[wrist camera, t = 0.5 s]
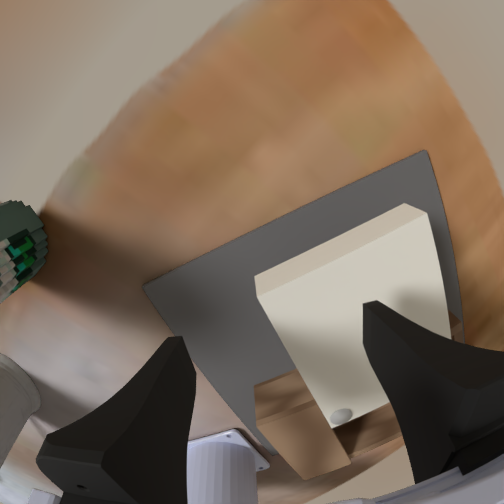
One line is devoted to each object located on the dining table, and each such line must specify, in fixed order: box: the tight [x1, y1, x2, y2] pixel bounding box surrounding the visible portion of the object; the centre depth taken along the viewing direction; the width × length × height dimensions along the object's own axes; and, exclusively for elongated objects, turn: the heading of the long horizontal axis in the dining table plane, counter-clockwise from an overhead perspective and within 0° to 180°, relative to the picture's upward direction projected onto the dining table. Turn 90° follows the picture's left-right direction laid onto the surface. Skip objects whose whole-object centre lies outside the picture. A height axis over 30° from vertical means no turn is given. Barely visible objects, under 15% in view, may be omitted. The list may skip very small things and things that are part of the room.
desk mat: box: [142, 150, 465, 456], centre depth 24 cm, size 22×22×1 cm
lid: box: [254, 203, 451, 428], centre depth 17 cm, size 11×9×3 cm
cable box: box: [254, 309, 463, 480], centre depth 23 cm, size 16×10×5 cm, turn 116°
